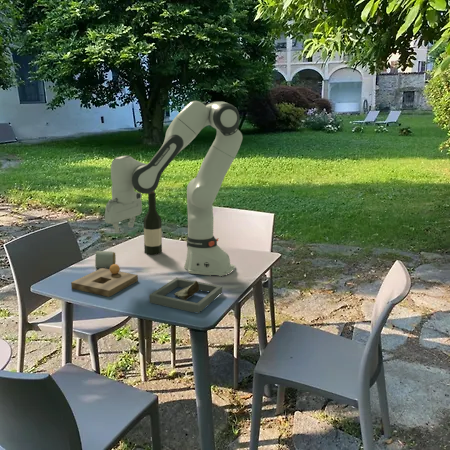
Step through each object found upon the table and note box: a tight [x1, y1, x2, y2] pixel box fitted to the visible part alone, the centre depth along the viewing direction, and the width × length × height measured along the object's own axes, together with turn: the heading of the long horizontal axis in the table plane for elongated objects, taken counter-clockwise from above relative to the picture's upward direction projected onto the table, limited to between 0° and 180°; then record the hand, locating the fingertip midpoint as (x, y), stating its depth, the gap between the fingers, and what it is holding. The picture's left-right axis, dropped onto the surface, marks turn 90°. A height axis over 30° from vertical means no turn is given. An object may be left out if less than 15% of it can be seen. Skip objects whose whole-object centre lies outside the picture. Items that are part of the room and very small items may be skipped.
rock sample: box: [173, 280, 200, 301], centre depth 166 cm, size 10×8×9 cm
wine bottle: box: [143, 190, 163, 256], centre depth 213 cm, size 8×8×30 cm
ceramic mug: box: [94, 250, 117, 270], centre depth 195 cm, size 11×8×8 cm
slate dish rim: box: [148, 277, 223, 314], centre depth 165 cm, size 20×19×3 cm
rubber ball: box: [109, 263, 121, 274], centre depth 180 cm, size 4×4×4 cm
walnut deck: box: [70, 268, 139, 298], centre depth 176 cm, size 18×18×2 cm
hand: (124, 229), depth 183 cm, fingers open, 8 cm apart
